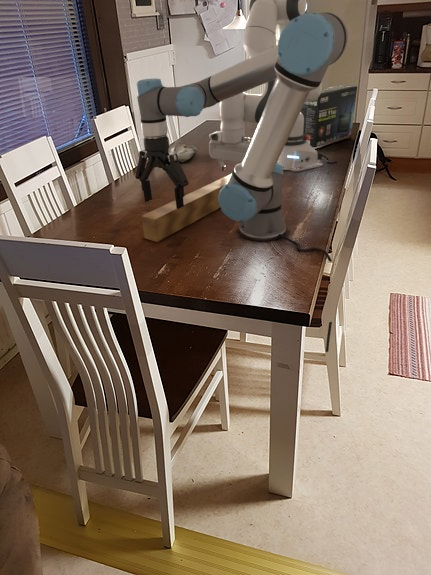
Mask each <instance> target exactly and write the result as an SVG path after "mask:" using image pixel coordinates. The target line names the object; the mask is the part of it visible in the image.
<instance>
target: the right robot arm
mask: <svg viewBox="0 0 431 575" xmlns="http://www.w3.org/2000/svg"><path fill="white" fill-rule="evenodd" d="M307 8H308V0H250V1H249V6H248V12H249V14H248V17H247V20H246V23H245V29H244V33H243V38H242V46H243V50H244V52H245V53H246V54H247V56H248V57H249V58H251V57H253V56H255V55H257V54H259V53H261V52H263V51H266V50H268V49H270V48H272V47H274V46H276V45H278V41H279V37H280V35H281V33H282V31H283V29H284V28H285V26H286V25H287V24H288V23H289V22H290V21H291V20H293V19H294V18H296V17H298V16H300V15H302V14H305V13H307V10H308V9H307ZM275 41H276V45H275ZM276 79H277V78H276ZM276 79H274V80H272V81H269V82H267V83H264V84H263V86H264V87H263V92H262V93H261V94H256V93H246V92H243V93H240V94H238V95H236V96H233V97H231V98H228V99H226V100H224V101H221V102H219V118H220V127H219V130H217V131H214V132H211V133H210V134H209V135H208V137H209V138H208V139H209V140H210V141H209V142H208V154H209V157H210V158H211V159H214V160H217V163H218V165H219V166H220V172H226V171H227V169H228V168H227V165H225V163H224V161H227V162H233V163H237V164H239V163H242V162H243V160H244V157H245V155H246V152H247V150H248V148H249V145H250V143H251V140H252V138H253V137H247V136H246V135H245V134H246V130H245V128H246V127H245V123H244V122H246V123H255V124H258V123H259V120H260V118H261V116H262V113H263V111H264V108H265V106H266V103H267V101H268V98H269V96H270V93H271V91H272V88H273V86H274V84H275V81H276ZM322 89H323V85H322V82H321V83H320V85H319V87H318V88H316V89H314V90H311V91H310V92H309V94H308V96H307V98H306V100H305V102H312V101H315V100H317V98H318V97H319V96H320V94H321V90H322ZM303 127H304V116H303V114H302V113H301V112H300V113H299V116H298V118H297V120H296V122H295V124H294V126H293V129H292V131H291V133H290V135H289V137H288V139H287V142H286V144H285V146H284V148H283V150H282V152H281V155H280V157H279V159H278V161H277V162H279V163H280V164H282V166H283V167H284V168H283V171H292V172H301V171H306V170H311V169H314V168H320V167H323V166H324V165H323V164H324V163H323V161H322V160H323V158H325V159H326V163H327V164H328V165H329V164H330V165H333V164H337V163H338V161H336V160H335V161H332V162H331V161H329V157H328V156H327V155H324V154H323V152H322V151H320V150H317V149H316V150H315V149H314V148H313V147H311V146H310V145H309V144H308V143H307V142H306V140H310V136H309V135H305V134H303ZM318 160H320V161H322V162H319V163H323V164H321V165H316V166H312V167H307V168H302V169H300V168H298V167H300V166H304V165H309V164H313V163H317V162H318ZM327 160H328V161H329V162H327ZM296 167H297V169H296ZM290 168H293V169H290Z"/></svg>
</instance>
